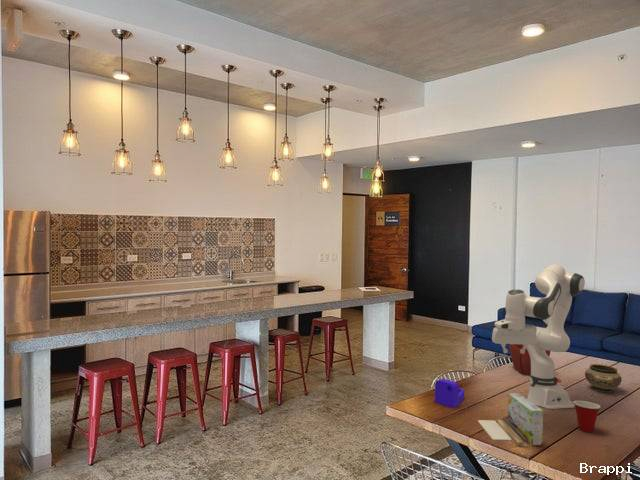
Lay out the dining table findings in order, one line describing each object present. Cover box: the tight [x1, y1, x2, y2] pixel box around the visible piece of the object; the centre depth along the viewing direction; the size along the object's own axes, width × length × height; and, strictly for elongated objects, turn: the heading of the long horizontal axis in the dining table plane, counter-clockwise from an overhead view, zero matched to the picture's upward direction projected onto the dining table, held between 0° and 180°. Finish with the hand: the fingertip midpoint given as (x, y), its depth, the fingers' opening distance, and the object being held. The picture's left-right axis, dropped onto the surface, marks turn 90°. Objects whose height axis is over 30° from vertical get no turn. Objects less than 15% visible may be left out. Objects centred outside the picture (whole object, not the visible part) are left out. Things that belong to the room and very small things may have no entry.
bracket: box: [434, 378, 465, 409], centre depth 250 cm, size 18×11×12 cm, turn 133°
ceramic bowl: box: [584, 363, 623, 393], centre depth 272 cm, size 24×18×15 cm
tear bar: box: [497, 416, 528, 447], centre depth 210 cm, size 4×23×3 cm, turn 0°
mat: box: [477, 419, 513, 441], centre depth 214 cm, size 8×20×1 cm, turn 0°
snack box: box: [507, 392, 544, 447], centre depth 210 cm, size 21×6×15 cm, turn 5°
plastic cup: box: [572, 400, 602, 433], centre depth 217 cm, size 11×11×12 cm
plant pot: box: [508, 344, 552, 376], centre depth 303 cm, size 19×19×17 cm
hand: (513, 353), depth 227 cm, fingers open, 6 cm apart
